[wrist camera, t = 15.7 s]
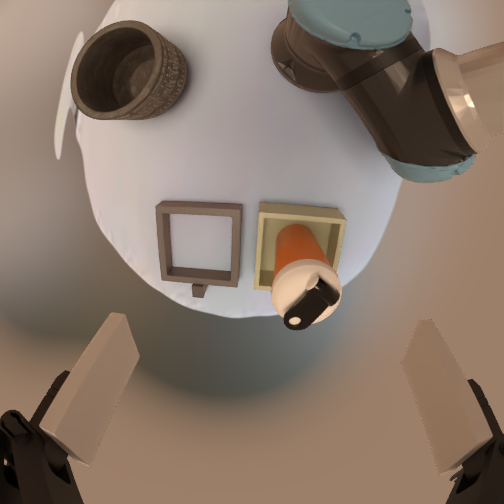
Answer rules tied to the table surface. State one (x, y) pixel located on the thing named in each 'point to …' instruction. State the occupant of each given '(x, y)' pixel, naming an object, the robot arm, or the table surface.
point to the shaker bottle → (303, 279)
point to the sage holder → (281, 215)
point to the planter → (127, 73)
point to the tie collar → (190, 275)
